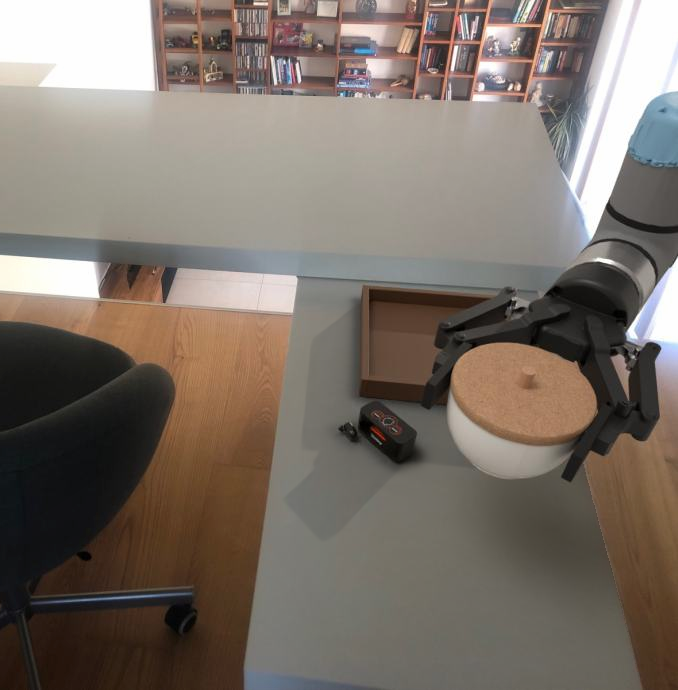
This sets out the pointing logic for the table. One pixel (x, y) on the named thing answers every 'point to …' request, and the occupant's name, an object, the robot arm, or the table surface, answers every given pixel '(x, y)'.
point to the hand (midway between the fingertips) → (495, 430)
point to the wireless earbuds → (383, 430)
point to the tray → (403, 338)
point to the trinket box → (517, 409)
